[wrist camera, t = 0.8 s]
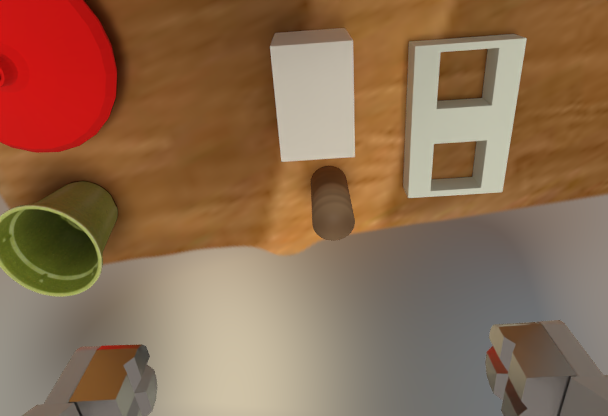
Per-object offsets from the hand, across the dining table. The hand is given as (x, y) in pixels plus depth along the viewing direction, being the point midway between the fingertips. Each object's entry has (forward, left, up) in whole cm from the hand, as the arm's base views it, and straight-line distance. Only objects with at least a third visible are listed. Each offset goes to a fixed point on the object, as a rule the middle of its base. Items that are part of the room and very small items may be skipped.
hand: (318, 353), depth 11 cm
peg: (+11, +2, -33) cm, 35 cm away
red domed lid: (-3, -23, -34) cm, 41 cm away
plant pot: (+12, -23, -34) cm, 43 cm away
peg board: (+5, +14, -33) cm, 37 cm away
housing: (+1, +1, -33) cm, 33 cm away
